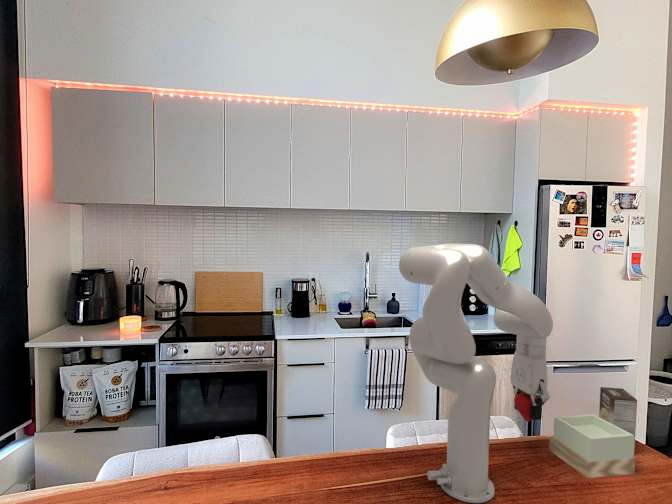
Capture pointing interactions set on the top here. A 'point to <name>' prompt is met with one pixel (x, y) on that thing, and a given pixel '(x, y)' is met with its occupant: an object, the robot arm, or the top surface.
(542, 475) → the top surface
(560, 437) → the sage top block
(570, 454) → the maple base block
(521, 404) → the strawberry
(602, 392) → the coffee box
